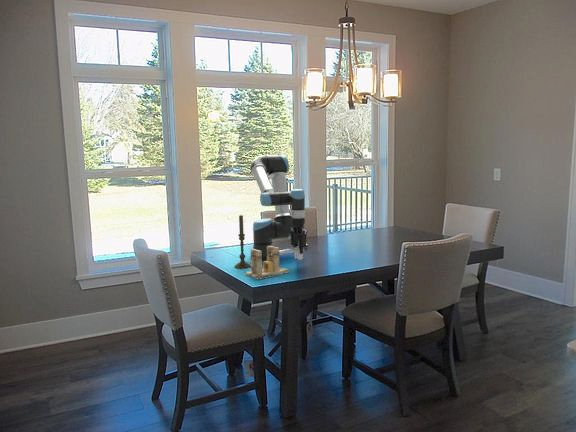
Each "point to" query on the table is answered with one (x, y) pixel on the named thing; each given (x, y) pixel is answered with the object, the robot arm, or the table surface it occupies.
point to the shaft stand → (257, 263)
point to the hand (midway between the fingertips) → (298, 258)
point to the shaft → (292, 250)
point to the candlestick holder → (241, 238)
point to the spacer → (268, 266)
